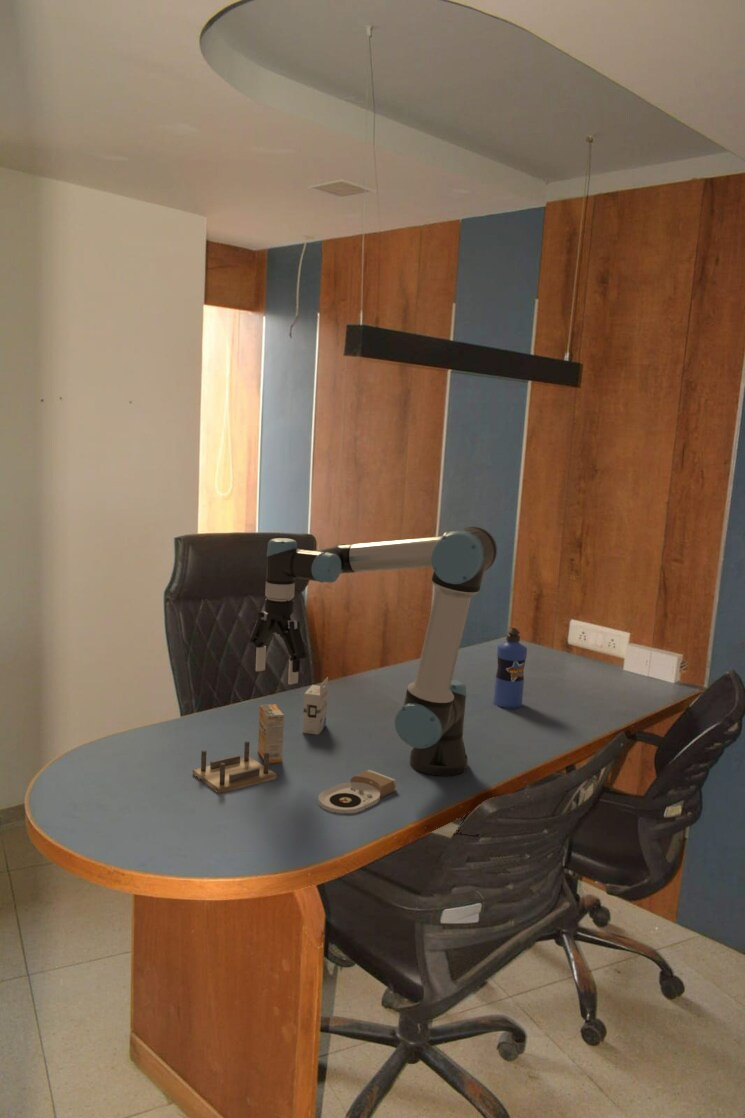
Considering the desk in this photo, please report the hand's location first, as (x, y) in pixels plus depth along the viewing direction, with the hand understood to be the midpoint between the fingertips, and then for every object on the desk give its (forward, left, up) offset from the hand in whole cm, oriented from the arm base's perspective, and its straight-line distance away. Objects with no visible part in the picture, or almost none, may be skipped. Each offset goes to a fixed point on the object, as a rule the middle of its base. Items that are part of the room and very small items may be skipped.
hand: (276, 676), depth 234 cm
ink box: (+7, -18, -20) cm, 28 cm away
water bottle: (-6, -85, -20) cm, 88 cm away
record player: (-35, -1, -21) cm, 41 cm away
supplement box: (-4, +4, -20) cm, 21 cm away
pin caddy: (-10, +18, -20) cm, 29 cm away
